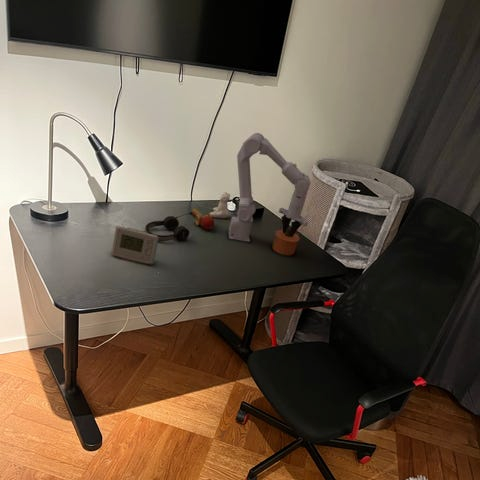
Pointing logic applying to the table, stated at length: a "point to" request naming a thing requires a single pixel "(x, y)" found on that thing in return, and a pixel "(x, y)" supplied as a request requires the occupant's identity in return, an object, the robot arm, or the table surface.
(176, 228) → the headset
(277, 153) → the robot arm
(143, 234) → the digital clock
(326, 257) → the table surface
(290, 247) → the pot
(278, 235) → the lid
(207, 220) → the kendama
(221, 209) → the seated beast figurine
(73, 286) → the table surface
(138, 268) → the table surface
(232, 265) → the table surface
